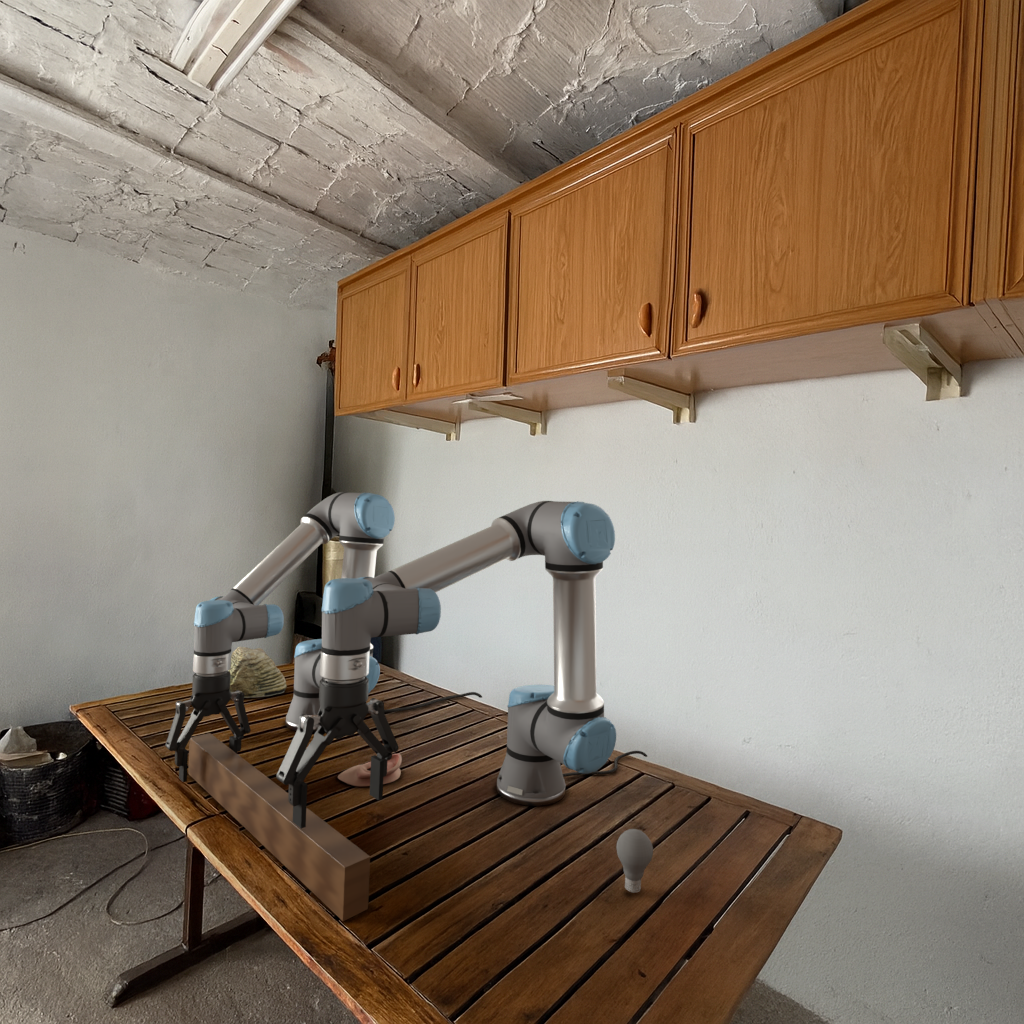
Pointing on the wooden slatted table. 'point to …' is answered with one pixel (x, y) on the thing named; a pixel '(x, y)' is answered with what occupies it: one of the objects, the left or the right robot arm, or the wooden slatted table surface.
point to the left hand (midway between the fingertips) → (208, 773)
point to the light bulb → (634, 857)
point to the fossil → (255, 673)
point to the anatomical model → (362, 772)
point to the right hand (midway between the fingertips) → (339, 810)
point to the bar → (283, 827)
